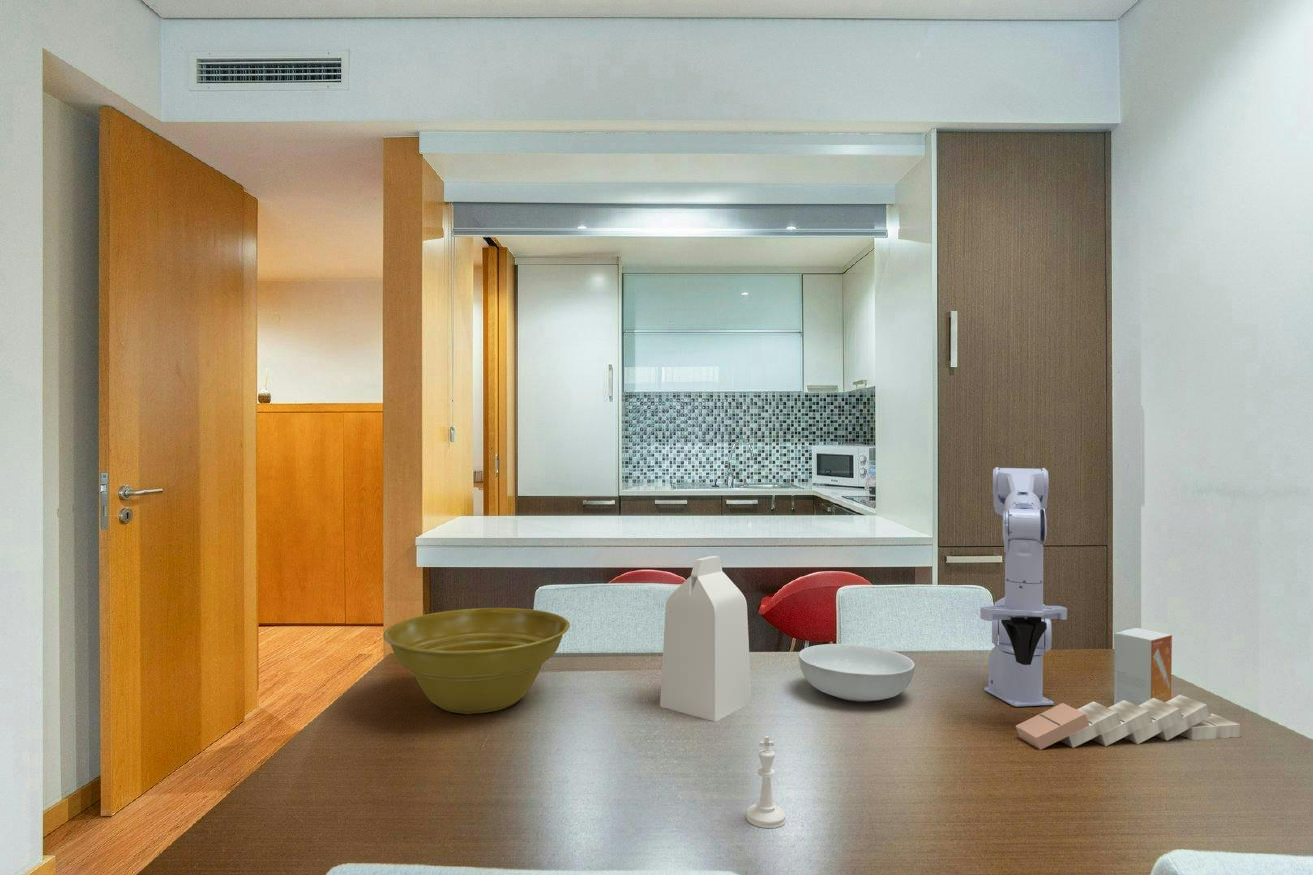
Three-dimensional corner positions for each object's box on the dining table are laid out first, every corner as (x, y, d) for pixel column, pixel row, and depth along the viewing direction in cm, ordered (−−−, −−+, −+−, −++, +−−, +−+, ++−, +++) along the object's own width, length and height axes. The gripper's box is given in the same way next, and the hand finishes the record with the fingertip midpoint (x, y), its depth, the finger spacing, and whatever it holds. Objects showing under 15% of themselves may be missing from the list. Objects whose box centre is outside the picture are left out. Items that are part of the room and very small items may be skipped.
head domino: (1015, 725, 119) (1062, 702, 121) (1019, 737, 120) (1066, 714, 121) (1036, 737, 114) (1085, 713, 116) (1040, 749, 115) (1089, 725, 116)
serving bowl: (931, 714, 129) (931, 674, 129) (809, 712, 130) (809, 672, 130) (895, 677, 150) (895, 643, 150) (790, 676, 150) (790, 641, 151)
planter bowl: (341, 724, 122) (342, 641, 122) (443, 668, 153) (443, 602, 153) (525, 745, 114) (526, 656, 114) (592, 681, 145) (593, 612, 146)
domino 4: (1136, 718, 123) (1179, 694, 125) (1140, 729, 123) (1183, 705, 125) (1162, 729, 118) (1207, 704, 120) (1167, 740, 118) (1211, 715, 120)
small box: (1151, 715, 130) (1151, 639, 130) (1112, 704, 135) (1113, 632, 136) (1172, 706, 135) (1172, 634, 135) (1134, 696, 140) (1134, 626, 140)
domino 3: (1108, 721, 122) (1153, 697, 123) (1112, 732, 122) (1157, 708, 124) (1133, 732, 117) (1179, 708, 119) (1137, 744, 117) (1183, 719, 119)
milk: (715, 721, 125) (716, 565, 125) (659, 706, 132) (661, 558, 132) (751, 702, 134) (752, 557, 135) (698, 689, 141) (699, 551, 142)
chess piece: (742, 809, 95) (743, 729, 95) (780, 808, 95) (781, 728, 95) (750, 828, 90) (751, 745, 90) (790, 827, 90) (791, 744, 90)
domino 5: (1165, 716, 124) (1212, 713, 126) (1165, 728, 124) (1212, 725, 126) (1192, 727, 119) (1240, 724, 121) (1192, 740, 119) (1240, 737, 121)
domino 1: (1046, 723, 120) (1093, 701, 122) (1050, 735, 120) (1097, 712, 122) (1069, 735, 115) (1117, 711, 117) (1073, 747, 115) (1121, 723, 117)
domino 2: (1078, 722, 121) (1123, 699, 123) (1082, 734, 121) (1127, 711, 123) (1101, 734, 116) (1148, 710, 118) (1105, 746, 116) (1152, 722, 118)
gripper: (998, 585, 120) (998, 671, 119) (1080, 584, 122) (1080, 668, 121) (973, 578, 127) (972, 659, 126) (1050, 577, 129) (1050, 657, 128)
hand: (1023, 663), depth 124 cm, fingers closed
